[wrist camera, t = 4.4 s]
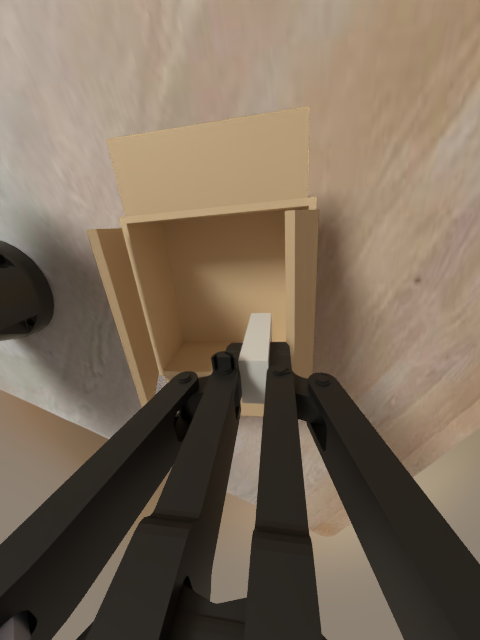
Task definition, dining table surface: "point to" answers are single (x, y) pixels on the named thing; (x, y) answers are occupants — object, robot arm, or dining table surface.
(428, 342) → the dining table surface
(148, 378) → the flap
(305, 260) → the flap
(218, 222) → the carton
